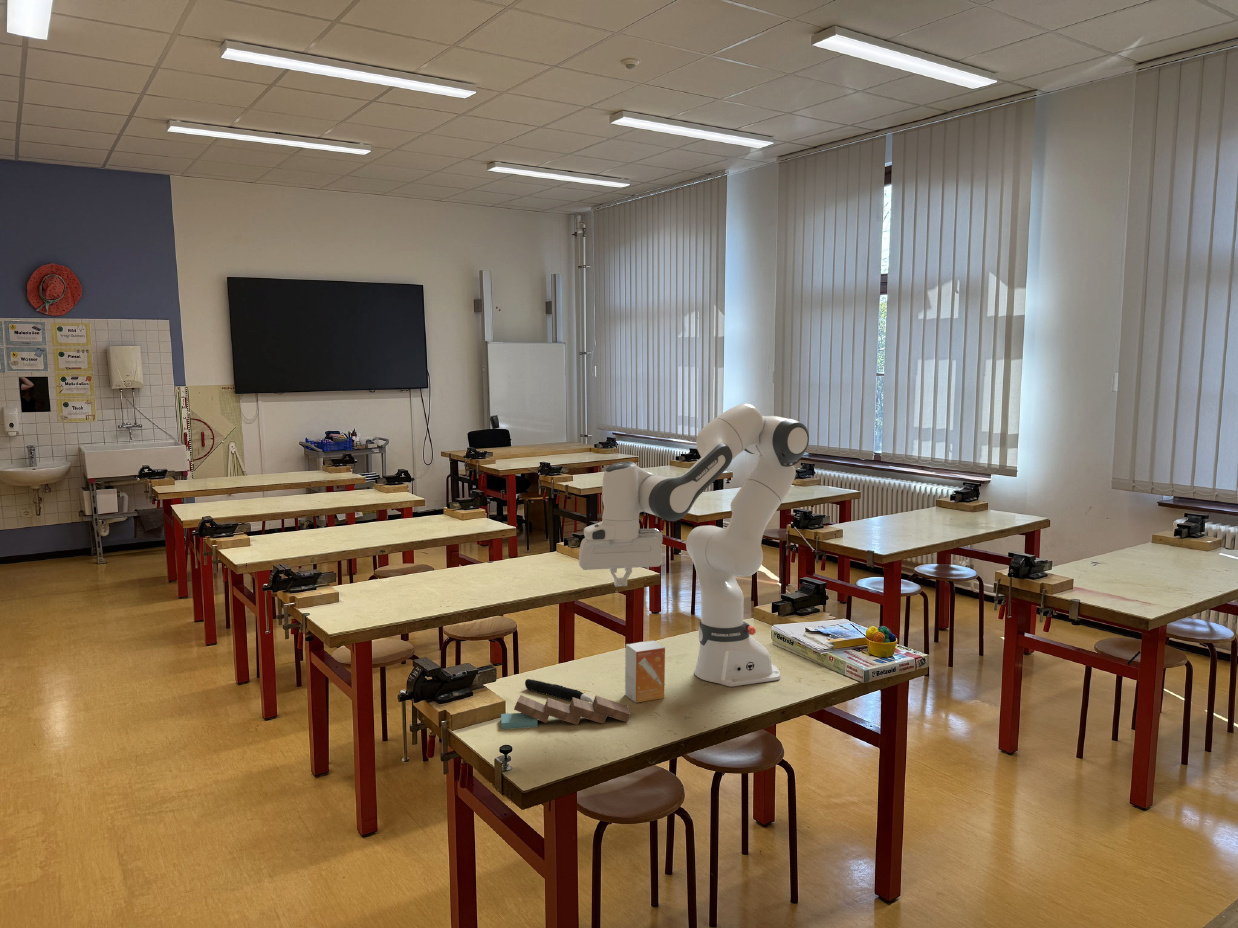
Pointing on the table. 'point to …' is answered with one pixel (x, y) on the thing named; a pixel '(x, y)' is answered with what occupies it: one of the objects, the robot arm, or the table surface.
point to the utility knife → (556, 690)
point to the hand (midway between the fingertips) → (620, 585)
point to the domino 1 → (517, 721)
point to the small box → (644, 671)
